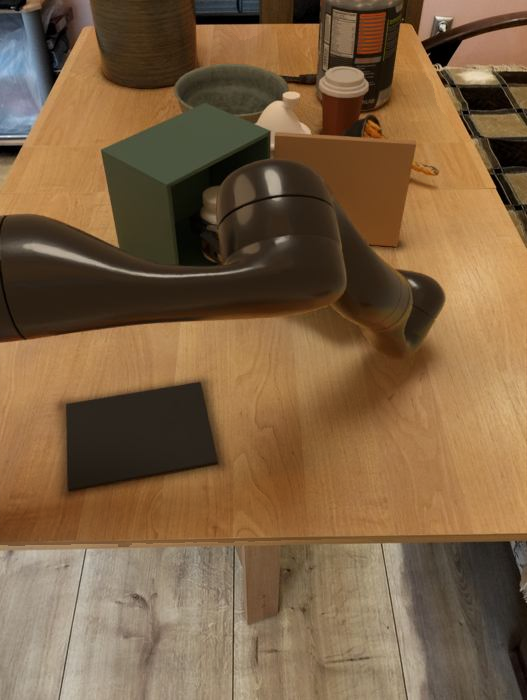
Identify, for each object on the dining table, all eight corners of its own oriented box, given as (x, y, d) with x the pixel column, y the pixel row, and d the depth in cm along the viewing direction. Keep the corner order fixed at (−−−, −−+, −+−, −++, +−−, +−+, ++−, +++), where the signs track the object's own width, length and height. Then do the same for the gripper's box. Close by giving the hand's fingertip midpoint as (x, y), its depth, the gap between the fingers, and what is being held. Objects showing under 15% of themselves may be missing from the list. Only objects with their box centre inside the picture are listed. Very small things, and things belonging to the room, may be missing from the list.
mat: (68, 492, 68) (67, 489, 67) (66, 406, 76) (65, 403, 75) (218, 464, 70) (217, 461, 70) (200, 384, 78) (200, 381, 78)
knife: (212, 76, 146) (209, 83, 142) (212, 68, 145) (208, 75, 141) (336, 77, 144) (336, 85, 140) (336, 69, 143) (337, 76, 139)
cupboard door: (276, 215, 104) (279, 115, 92) (396, 224, 103) (414, 123, 91) (272, 237, 100) (274, 135, 88) (397, 246, 98) (416, 144, 86)
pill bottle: (197, 261, 94) (192, 202, 87) (209, 239, 98) (205, 181, 91) (235, 267, 93) (233, 207, 86) (245, 244, 97) (244, 186, 90)
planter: (194, 90, 138) (187, -13, 124) (92, 89, 138) (72, -15, 124) (203, 51, 154) (198, -45, 139) (111, 50, 154) (96, -46, 140)
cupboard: (269, 234, 101) (270, 130, 89) (179, 292, 91) (166, 184, 78) (211, 203, 107) (205, 102, 95) (120, 255, 97) (100, 149, 85)
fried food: (353, 117, 119) (449, 107, 109) (355, 179, 122) (449, 174, 112) (330, 116, 112) (431, 105, 102) (333, 182, 115) (431, 176, 105)
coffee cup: (344, 152, 119) (350, 88, 111) (305, 137, 123) (309, 74, 115) (371, 135, 124) (380, 72, 116) (333, 121, 128) (339, 59, 120)
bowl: (250, 104, 133) (249, 55, 126) (308, 146, 121) (311, 93, 114) (160, 129, 125) (154, 77, 118) (212, 176, 113) (209, 122, 106)
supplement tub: (349, 76, 144) (362, -57, 126) (404, 99, 136) (427, -40, 117) (299, 96, 136) (305, -43, 118) (354, 121, 128) (370, -23, 110)
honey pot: (324, 187, 111) (332, 82, 98) (301, 227, 102) (307, 118, 89) (254, 173, 114) (253, 70, 101) (226, 211, 105) (222, 104, 92)
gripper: (333, 212, 85) (241, 169, 93) (261, 260, 78) (167, 209, 86) (329, 257, 91) (242, 213, 99) (261, 307, 83) (173, 255, 91)
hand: (207, 212), depth 92 cm, fingers closed on pill bottle, 5 cm apart
